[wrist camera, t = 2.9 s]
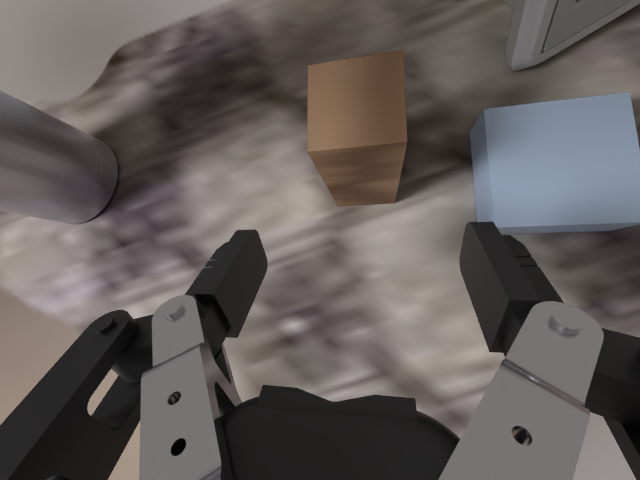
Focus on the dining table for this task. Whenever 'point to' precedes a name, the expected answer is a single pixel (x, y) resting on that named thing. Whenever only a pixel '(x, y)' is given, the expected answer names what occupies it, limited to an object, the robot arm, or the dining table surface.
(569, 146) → the pedestal
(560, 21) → the digital clock
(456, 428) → the dining table surface
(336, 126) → the walnut pillar
